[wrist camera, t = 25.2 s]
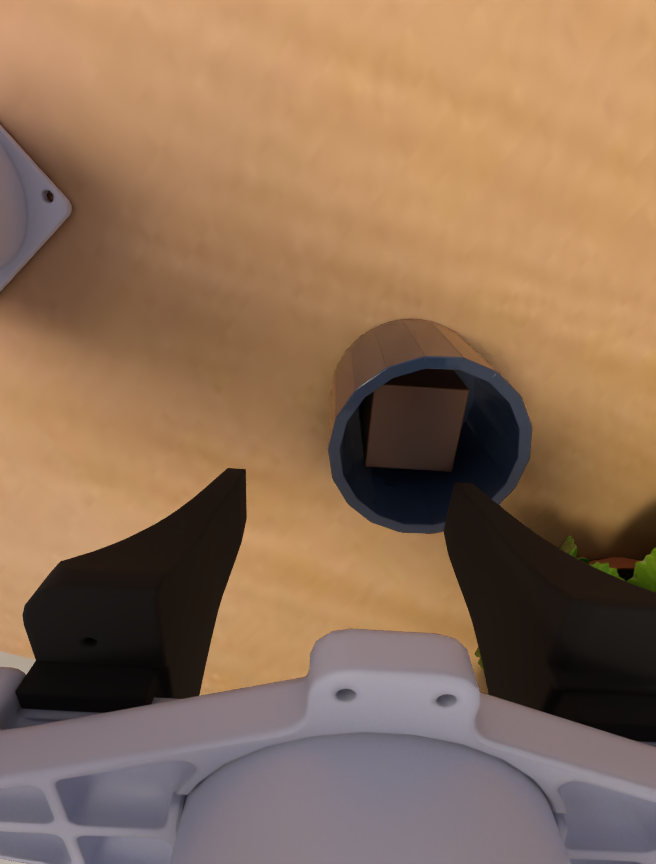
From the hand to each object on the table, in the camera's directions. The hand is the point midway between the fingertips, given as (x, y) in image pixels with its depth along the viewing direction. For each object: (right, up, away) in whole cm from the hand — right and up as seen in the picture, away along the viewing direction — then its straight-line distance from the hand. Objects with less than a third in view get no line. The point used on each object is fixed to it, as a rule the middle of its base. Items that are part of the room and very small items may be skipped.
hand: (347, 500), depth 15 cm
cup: (+4, +4, +9) cm, 11 cm away
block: (+3, +4, +9) cm, 10 cm away
